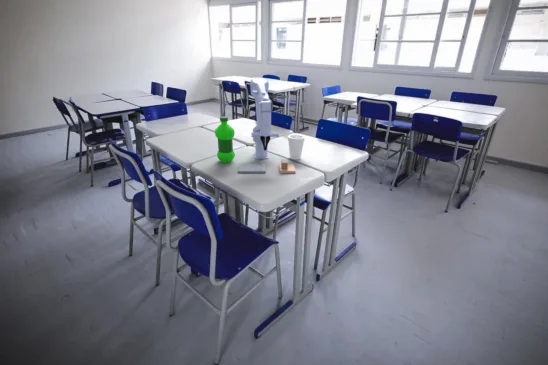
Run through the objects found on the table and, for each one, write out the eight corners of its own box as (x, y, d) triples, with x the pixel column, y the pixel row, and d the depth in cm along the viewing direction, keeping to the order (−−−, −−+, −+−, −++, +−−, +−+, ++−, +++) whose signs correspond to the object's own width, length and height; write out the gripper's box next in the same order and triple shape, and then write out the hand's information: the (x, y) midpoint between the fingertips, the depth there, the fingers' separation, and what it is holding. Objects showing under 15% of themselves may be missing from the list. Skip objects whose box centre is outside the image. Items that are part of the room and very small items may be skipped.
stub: (279, 165, 155) (279, 157, 153) (293, 165, 155) (293, 157, 153) (280, 173, 146) (280, 164, 144) (295, 173, 146) (295, 164, 144)
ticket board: (239, 166, 154) (239, 163, 154) (265, 166, 155) (265, 163, 154) (238, 173, 145) (238, 171, 145) (265, 173, 146) (265, 171, 145)
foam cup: (293, 161, 161) (295, 140, 156) (284, 157, 168) (284, 135, 162) (306, 158, 166) (307, 137, 161) (296, 154, 173) (297, 133, 168)
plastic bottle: (224, 156, 166) (222, 114, 156) (239, 160, 162) (237, 116, 151) (213, 162, 159) (209, 117, 148) (227, 166, 154) (225, 120, 143)
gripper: (251, 126, 141) (251, 152, 147) (279, 126, 141) (279, 152, 147) (251, 123, 147) (251, 147, 153) (279, 123, 148) (278, 148, 154)
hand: (265, 149), depth 151 cm, fingers closed
